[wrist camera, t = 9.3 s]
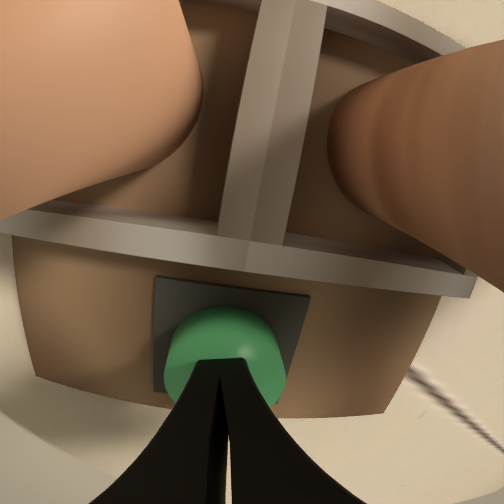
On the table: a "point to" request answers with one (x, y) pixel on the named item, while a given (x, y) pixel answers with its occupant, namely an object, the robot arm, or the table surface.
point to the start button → (225, 349)
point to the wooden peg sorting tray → (284, 209)
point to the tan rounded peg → (90, 93)
